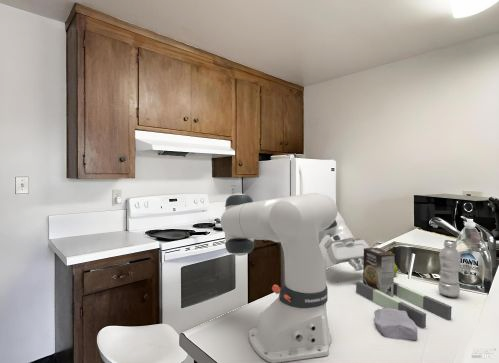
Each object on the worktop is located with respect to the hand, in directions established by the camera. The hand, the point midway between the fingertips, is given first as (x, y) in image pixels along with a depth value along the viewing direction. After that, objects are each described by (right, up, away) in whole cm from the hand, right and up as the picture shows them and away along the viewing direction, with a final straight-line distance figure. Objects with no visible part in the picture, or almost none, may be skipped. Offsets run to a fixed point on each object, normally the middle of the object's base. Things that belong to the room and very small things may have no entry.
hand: (360, 270), depth 112 cm
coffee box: (+3, -7, -8) cm, 11 cm away
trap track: (+7, -7, -16) cm, 19 cm away
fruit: (+17, -6, +11) cm, 21 cm away
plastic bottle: (+29, -7, -9) cm, 31 cm away
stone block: (-2, -8, -30) cm, 31 cm away
